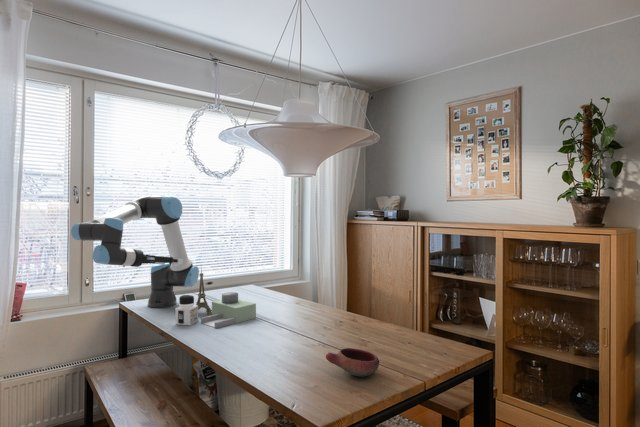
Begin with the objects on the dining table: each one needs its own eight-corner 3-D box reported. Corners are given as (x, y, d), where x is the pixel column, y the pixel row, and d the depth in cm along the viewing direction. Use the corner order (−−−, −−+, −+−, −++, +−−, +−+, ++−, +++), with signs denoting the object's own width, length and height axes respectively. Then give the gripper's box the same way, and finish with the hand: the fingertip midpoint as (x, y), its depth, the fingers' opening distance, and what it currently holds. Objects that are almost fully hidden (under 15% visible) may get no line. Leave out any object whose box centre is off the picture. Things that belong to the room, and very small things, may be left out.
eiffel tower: (213, 315, 209) (213, 266, 208) (191, 317, 205) (191, 267, 205) (211, 310, 219) (211, 263, 218) (190, 312, 215) (190, 264, 215)
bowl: (357, 363, 143) (357, 341, 143) (386, 375, 134) (386, 350, 133) (323, 377, 132) (323, 352, 132) (352, 390, 123) (352, 363, 123)
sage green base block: (192, 320, 200) (192, 297, 199) (231, 311, 217) (231, 290, 216) (216, 328, 186) (215, 304, 186) (256, 317, 203) (256, 295, 203)
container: (190, 325, 191) (189, 297, 191) (175, 324, 192) (174, 296, 192) (198, 320, 198) (198, 294, 198) (183, 320, 200) (183, 293, 200)
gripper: (115, 266, 187) (157, 269, 204) (146, 266, 172) (189, 269, 189) (117, 250, 188) (158, 254, 205) (148, 248, 174) (190, 253, 191)
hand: (173, 261), depth 197 cm, fingers open, 13 cm apart
